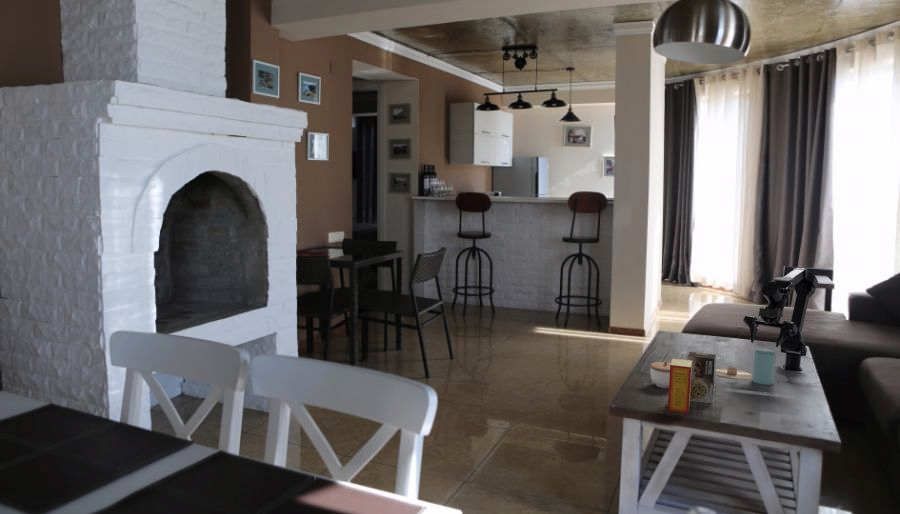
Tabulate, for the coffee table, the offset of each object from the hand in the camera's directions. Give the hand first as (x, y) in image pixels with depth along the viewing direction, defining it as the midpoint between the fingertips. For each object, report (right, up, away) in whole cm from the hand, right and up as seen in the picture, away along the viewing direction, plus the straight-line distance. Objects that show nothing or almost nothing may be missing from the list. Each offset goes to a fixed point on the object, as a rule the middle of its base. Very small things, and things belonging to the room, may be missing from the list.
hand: (763, 344), depth 265 cm
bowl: (-9, -13, +9) cm, 17 cm away
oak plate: (-9, -14, +9) cm, 18 cm away
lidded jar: (-39, -15, -5) cm, 42 cm away
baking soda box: (-42, -18, -30) cm, 55 cm away
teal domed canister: (-1, -15, -1) cm, 15 cm away
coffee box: (-32, -17, -21) cm, 41 cm away
